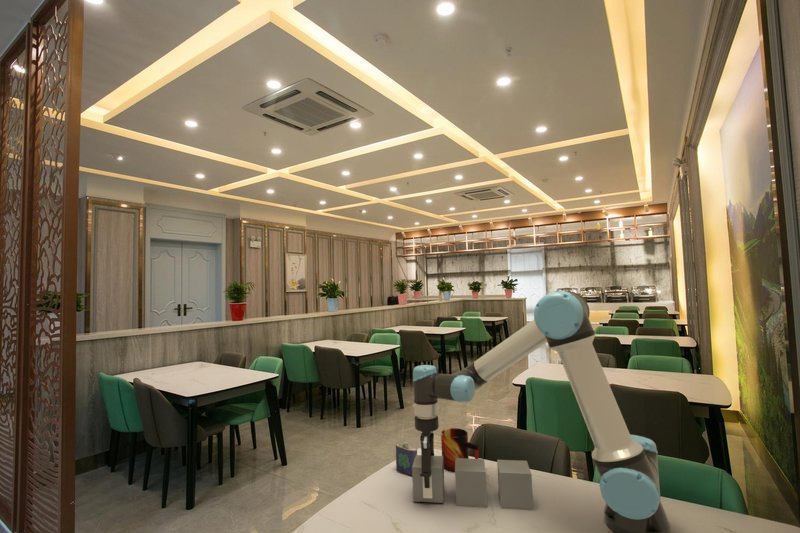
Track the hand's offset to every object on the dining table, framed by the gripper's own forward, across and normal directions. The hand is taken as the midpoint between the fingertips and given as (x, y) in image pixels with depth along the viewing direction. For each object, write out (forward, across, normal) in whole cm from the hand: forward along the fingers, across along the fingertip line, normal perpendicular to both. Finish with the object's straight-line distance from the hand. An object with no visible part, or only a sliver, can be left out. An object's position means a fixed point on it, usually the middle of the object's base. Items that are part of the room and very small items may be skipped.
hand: (429, 489), depth 122 cm
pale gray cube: (+2, 0, +13) cm, 13 cm away
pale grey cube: (+2, 0, +26) cm, 26 cm away
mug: (+2, -22, +10) cm, 24 cm away
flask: (+2, -15, -10) cm, 18 cm away
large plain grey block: (+1, 0, 0) cm, 1 cm away
